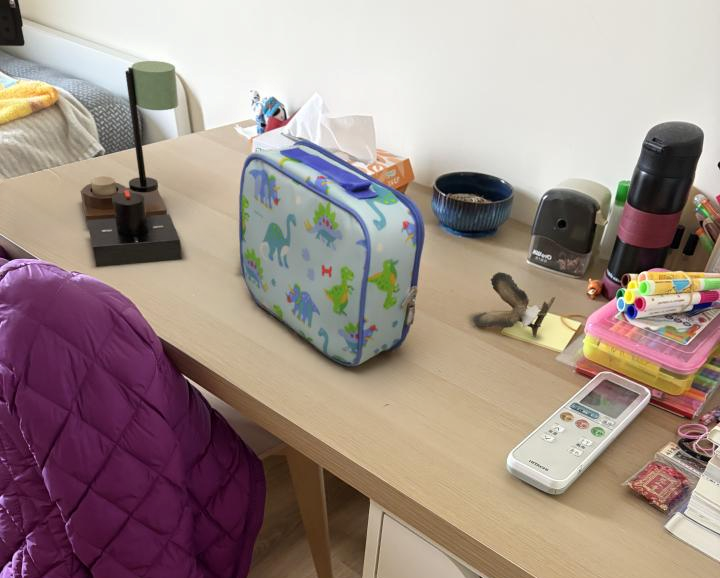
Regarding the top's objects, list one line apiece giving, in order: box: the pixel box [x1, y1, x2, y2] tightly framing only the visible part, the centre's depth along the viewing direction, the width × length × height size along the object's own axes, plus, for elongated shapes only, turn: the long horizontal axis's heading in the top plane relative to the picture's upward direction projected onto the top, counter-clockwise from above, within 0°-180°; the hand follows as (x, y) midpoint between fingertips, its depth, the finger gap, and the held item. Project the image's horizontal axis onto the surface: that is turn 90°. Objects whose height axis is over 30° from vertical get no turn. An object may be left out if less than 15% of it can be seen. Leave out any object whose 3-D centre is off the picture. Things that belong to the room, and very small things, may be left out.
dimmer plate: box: [86, 213, 183, 267], centre depth 105 cm, size 12×9×3 cm
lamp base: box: [79, 182, 168, 231], centre depth 113 cm, size 12×10×4 cm
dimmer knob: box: [112, 190, 148, 236], centre depth 102 cm, size 4×4×5 cm
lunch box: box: [238, 140, 426, 367], centre depth 87 cm, size 26×11×21 cm, turn 40°
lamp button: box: [90, 175, 117, 195], centre depth 111 cm, size 4×4×2 cm
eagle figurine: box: [473, 271, 556, 338], centre depth 95 cm, size 8×7×9 cm
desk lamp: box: [124, 60, 179, 193], centre depth 108 cm, size 9×6×17 cm
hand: (10, 35), depth 90 cm, fingers open, 9 cm apart
